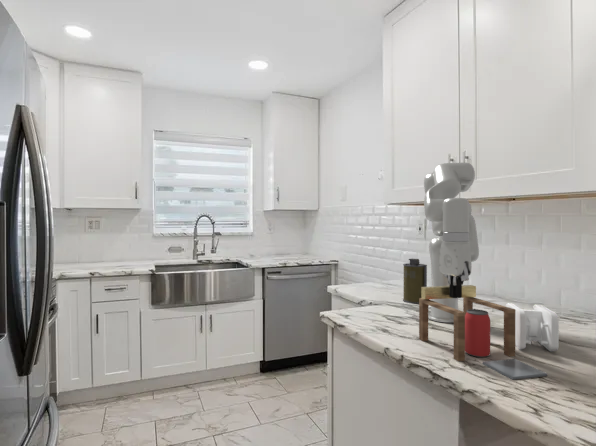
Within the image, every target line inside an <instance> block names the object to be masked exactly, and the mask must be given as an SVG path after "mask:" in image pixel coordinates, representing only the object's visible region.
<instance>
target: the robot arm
mask: <svg viewBox="0 0 596 446" xmlns="http://www.w3.org/2000/svg"><path fill="white" fill-rule="evenodd" d="M475 178H476V173H475V168H474V166H473V165H472V164H471V163H470V162H445V163H441V164H438V165H437V166H436V167H435V168H434V170H433V172H430V173H428V174H426V175H425V177H424V180H423V189H424V193H425V195H424V199H423V207H424V208H423V209H424V216H425V217H426V219H427V220H428V221H429V222H431V228H432V233H433V234H434V236H437V237H434V238H432V239H430V241H429V245H428V249H429V256H430V257H429V258H430V266H431V267H430V268H431V274H430V275H431V277H430V278H431V287H435V286H449V297H451V298H447V299H431V300H432V301H435V302H437V303H440V304H443V305H446V306H449V307H451V308H454V309H457V310H459V299H462V298H461V297H462V285H464V283H465V281H469V279H470V275H471V274H472V263H473V262H476V261H477V260H478V258H479V255H480V254H479V253H480V250H479V249H480V248H479V241H478V240H479V239H478V232H477V225H476V224H477V223H476V220H475V217H474V216H473V215H472V205H471V203H470V201H469V200H468V198H465V197H457V196H458V195H459V194H460V193H464V192H467V191H468V190H469V189H470V188H471V186H472V185H473V183H474V181H475ZM428 310H430V312H428V320H431V321H434V322H438V323H439V322H440V323H447V324H451V323H453V324H454V315H453V314H451V313H448V312H445V311H443V310H440V309H438V308H435V307H432V306H430V305H428Z"/></svg>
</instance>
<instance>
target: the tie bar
mask: <svg viewBox="0 0 596 446" xmlns="http://www.w3.org/2000/svg"><path fill="white" fill-rule="evenodd" d="M468 297H474V298H477V286H476V285H473V284H467V285H466V284H463V285H462V297H461V298H460V299H463V298H468ZM421 298H422V299H425V300H426V299H429V300H432V299H447V298H451V297H449V286H435V287H432V286H427V287H421Z"/></svg>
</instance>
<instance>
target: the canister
mask: <svg viewBox="0 0 596 446" xmlns="http://www.w3.org/2000/svg"><path fill="white" fill-rule="evenodd" d="M408 261H409V262H408V263H403V264H402V265H403V298H402V301H404V302H405V303H409V304H419V298H421V287H428V286H427V285H428V283H427V280H428V279H427V278H428V277H427V275H428V274H427V273H428V271H427V270H428V265H427V264H425V263H420V259H419V258H409V259H408Z"/></svg>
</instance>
